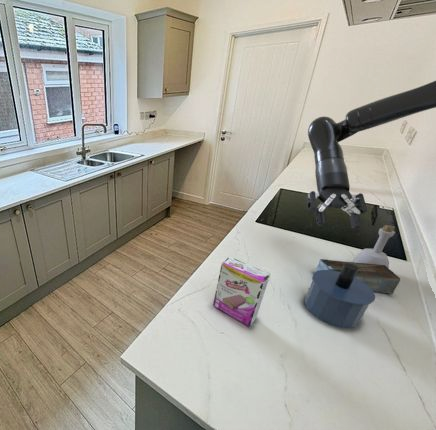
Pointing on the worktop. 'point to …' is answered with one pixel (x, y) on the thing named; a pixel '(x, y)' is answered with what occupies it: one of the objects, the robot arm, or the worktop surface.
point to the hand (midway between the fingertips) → (338, 226)
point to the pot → (333, 309)
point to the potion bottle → (376, 249)
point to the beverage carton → (367, 274)
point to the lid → (344, 285)
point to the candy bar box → (240, 290)
